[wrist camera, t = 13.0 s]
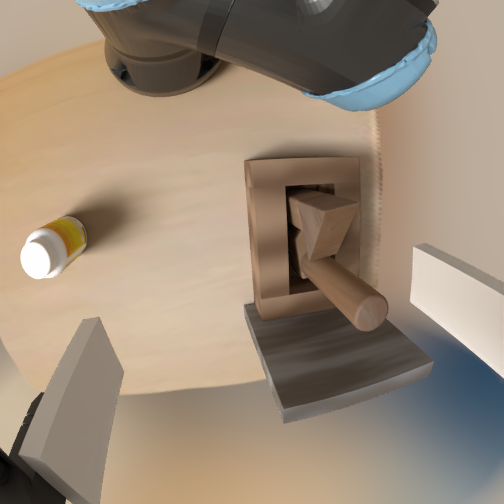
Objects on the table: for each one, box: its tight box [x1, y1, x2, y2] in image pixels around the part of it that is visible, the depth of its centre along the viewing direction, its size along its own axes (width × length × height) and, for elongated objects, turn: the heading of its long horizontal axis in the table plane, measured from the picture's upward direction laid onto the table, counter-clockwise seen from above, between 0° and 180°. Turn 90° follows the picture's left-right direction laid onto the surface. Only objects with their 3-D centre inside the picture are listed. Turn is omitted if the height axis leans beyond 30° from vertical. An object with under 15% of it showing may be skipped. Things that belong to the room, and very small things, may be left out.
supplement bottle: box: [21, 216, 87, 279], centre depth 29 cm, size 6×6×10 cm
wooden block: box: [285, 188, 388, 331], centre depth 31 cm, size 4×11×18 cm, turn 13°
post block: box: [244, 157, 434, 423], centre depth 31 cm, size 21×16×20 cm
